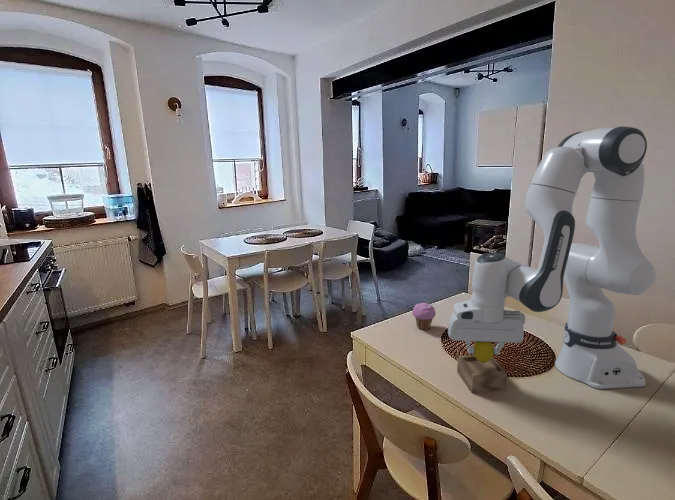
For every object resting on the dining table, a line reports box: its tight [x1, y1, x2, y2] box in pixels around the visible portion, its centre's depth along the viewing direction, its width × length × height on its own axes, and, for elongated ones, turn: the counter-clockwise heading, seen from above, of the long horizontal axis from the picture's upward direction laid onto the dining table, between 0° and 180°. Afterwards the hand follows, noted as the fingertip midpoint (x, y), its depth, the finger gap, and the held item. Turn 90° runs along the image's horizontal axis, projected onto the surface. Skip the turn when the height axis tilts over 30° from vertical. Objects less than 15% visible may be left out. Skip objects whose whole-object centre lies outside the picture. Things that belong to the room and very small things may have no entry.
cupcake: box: [412, 302, 437, 331], centre depth 139 cm, size 9×9×10 cm
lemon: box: [473, 341, 494, 363], centre depth 104 cm, size 6×6×8 cm
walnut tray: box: [456, 354, 508, 394], centre depth 106 cm, size 10×10×6 cm
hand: (483, 353), depth 105 cm, fingers closed on lemon, 5 cm apart
